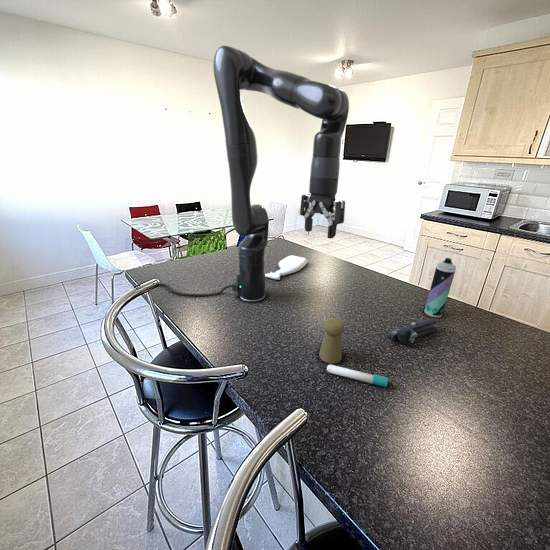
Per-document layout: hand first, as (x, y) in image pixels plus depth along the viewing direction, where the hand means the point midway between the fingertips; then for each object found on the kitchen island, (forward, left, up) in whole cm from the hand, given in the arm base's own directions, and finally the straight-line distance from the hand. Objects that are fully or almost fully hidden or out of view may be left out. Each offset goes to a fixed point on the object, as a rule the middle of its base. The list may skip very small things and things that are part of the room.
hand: (319, 234), depth 84 cm
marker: (+16, -23, -28) cm, 40 cm away
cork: (+9, -17, -28) cm, 34 cm away
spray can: (+38, +18, -28) cm, 51 cm away
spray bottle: (-20, +34, -28) cm, 49 cm away
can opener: (+31, +1, -28) cm, 42 cm away
